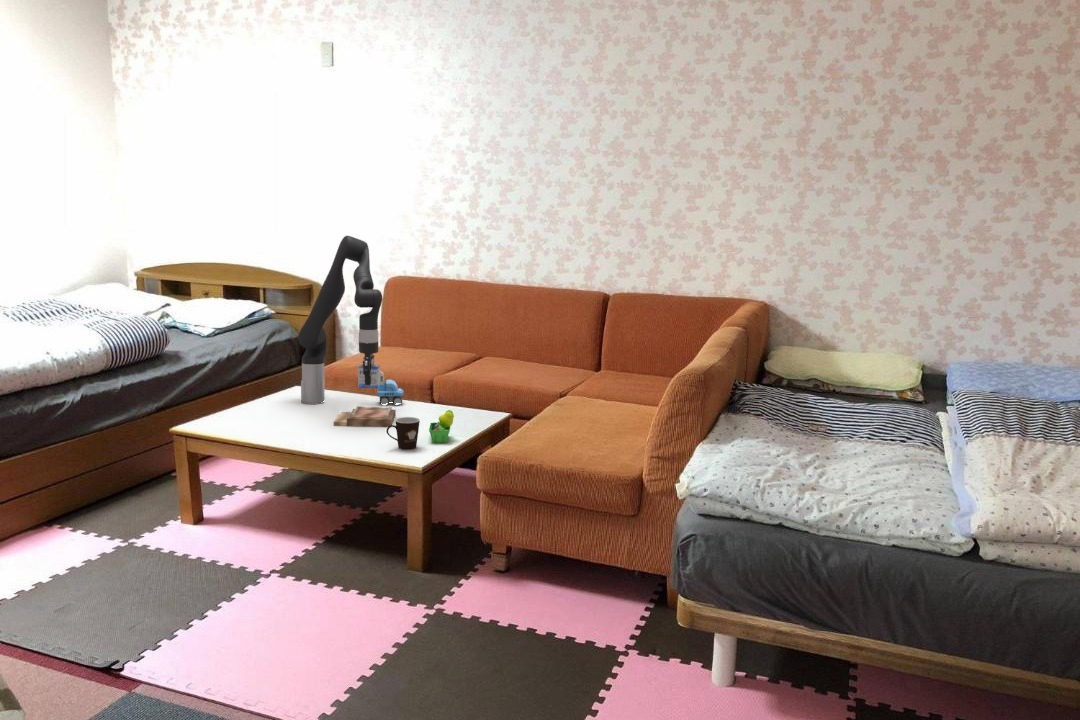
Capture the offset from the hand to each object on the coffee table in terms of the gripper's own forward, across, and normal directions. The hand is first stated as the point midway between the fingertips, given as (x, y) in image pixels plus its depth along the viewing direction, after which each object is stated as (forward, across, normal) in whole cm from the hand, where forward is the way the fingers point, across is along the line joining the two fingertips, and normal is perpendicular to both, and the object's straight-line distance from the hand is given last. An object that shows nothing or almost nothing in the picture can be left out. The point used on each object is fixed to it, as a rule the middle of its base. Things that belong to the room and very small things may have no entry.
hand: (368, 383), depth 332 cm
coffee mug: (+16, +34, +17) cm, 42 cm away
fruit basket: (+16, +23, +30) cm, 41 cm away
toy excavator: (+16, -30, +2) cm, 34 cm away
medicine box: (+2, 0, 0) cm, 2 cm away
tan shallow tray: (+16, 0, -2) cm, 16 cm away
